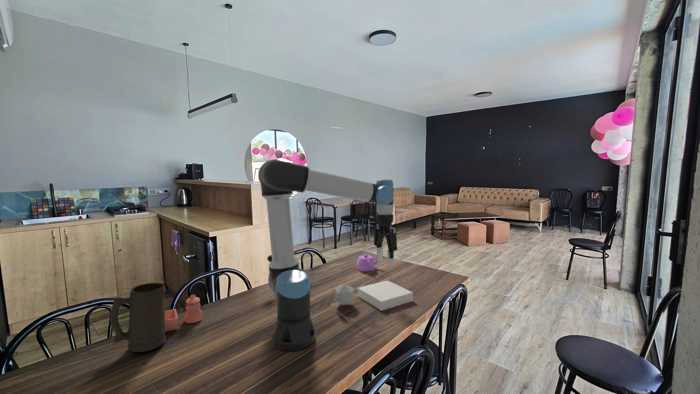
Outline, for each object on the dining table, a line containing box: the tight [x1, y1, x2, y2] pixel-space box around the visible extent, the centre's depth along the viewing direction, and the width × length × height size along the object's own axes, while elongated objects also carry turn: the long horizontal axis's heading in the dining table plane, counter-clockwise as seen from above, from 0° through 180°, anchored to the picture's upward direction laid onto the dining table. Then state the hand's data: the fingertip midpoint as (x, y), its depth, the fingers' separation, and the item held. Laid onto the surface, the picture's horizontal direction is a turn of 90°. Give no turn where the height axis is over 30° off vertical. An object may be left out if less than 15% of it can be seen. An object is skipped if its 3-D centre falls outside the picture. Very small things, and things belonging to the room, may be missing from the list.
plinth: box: [357, 280, 414, 311], centre depth 137 cm, size 18×18×4 cm
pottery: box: [165, 294, 204, 333], centre depth 114 cm, size 18×10×10 cm, turn 125°
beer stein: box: [108, 282, 167, 353], centre depth 99 cm, size 15×11×20 cm
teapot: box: [356, 253, 378, 273], centre depth 177 cm, size 15×14×10 cm
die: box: [334, 283, 355, 306], centre depth 130 cm, size 8×9×10 cm
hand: (385, 263), depth 136 cm, fingers open, 7 cm apart
